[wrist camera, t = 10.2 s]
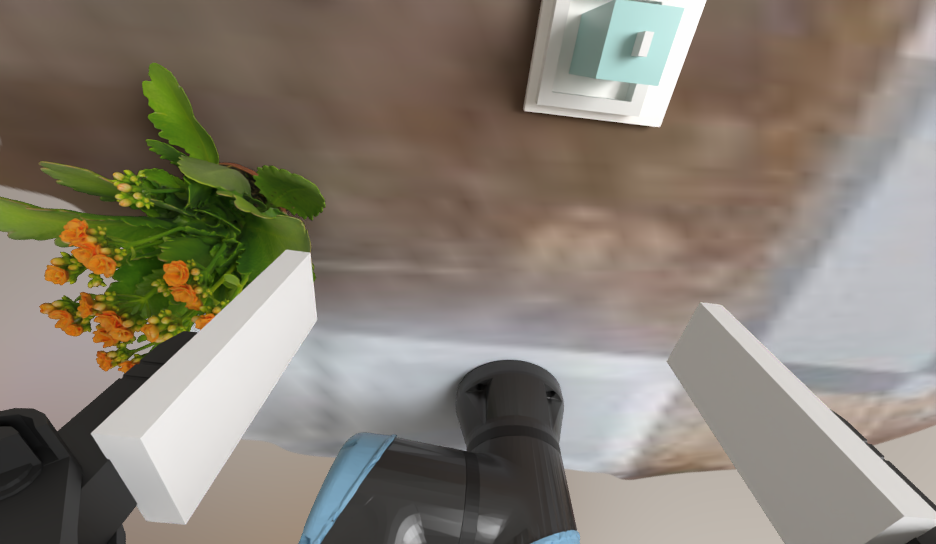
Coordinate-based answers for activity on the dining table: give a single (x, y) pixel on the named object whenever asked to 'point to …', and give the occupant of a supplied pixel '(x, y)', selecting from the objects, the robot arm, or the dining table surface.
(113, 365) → the potted flower
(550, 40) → the outlet plate
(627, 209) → the dining table surface
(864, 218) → the dining table surface
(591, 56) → the block
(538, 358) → the dining table surface
